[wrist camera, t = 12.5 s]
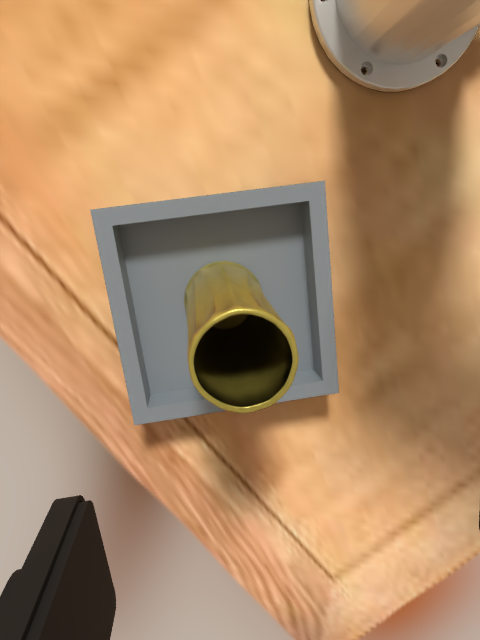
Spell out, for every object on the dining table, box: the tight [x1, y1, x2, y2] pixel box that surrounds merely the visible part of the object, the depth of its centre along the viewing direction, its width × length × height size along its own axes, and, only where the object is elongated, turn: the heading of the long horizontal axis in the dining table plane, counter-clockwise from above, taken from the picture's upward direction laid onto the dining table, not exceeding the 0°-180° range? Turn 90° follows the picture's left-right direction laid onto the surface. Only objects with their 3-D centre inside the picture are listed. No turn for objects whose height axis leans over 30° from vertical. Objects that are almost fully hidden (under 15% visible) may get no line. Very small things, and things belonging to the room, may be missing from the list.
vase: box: [184, 261, 299, 413], centre depth 27 cm, size 6×6×14 cm
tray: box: [91, 181, 339, 425], centre depth 33 cm, size 16×16×4 cm
